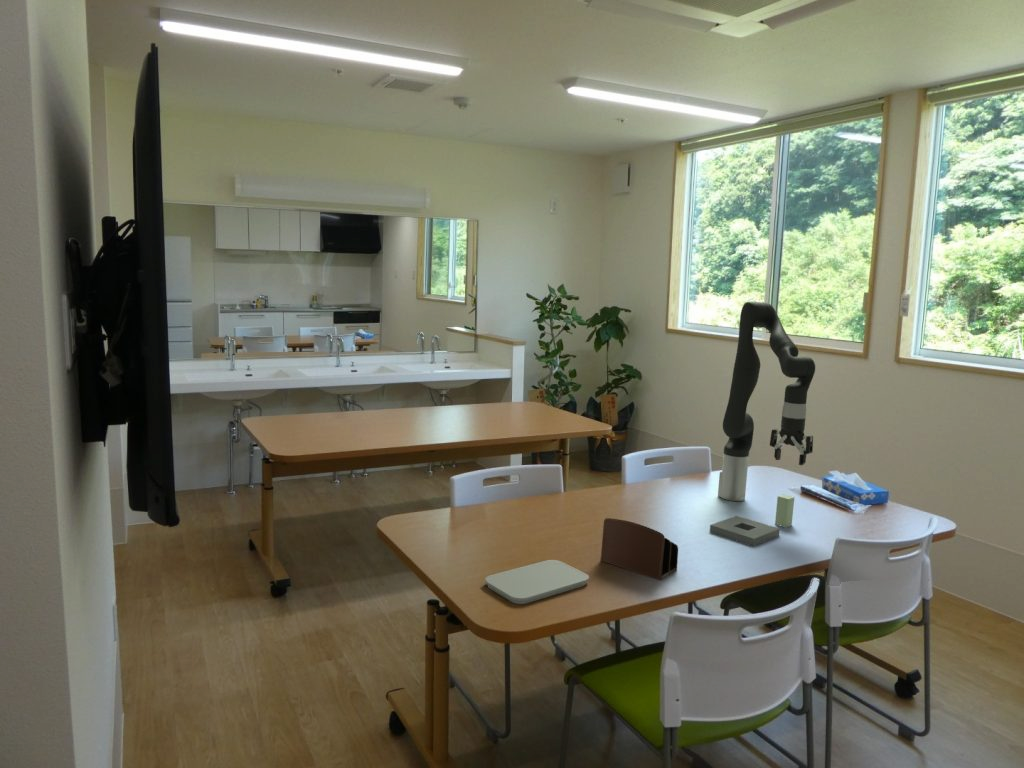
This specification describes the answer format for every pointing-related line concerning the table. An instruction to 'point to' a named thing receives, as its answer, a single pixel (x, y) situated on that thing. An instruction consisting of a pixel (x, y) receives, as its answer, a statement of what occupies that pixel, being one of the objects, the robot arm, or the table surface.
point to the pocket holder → (744, 530)
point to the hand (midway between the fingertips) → (789, 462)
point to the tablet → (536, 581)
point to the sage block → (784, 510)
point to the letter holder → (638, 549)
